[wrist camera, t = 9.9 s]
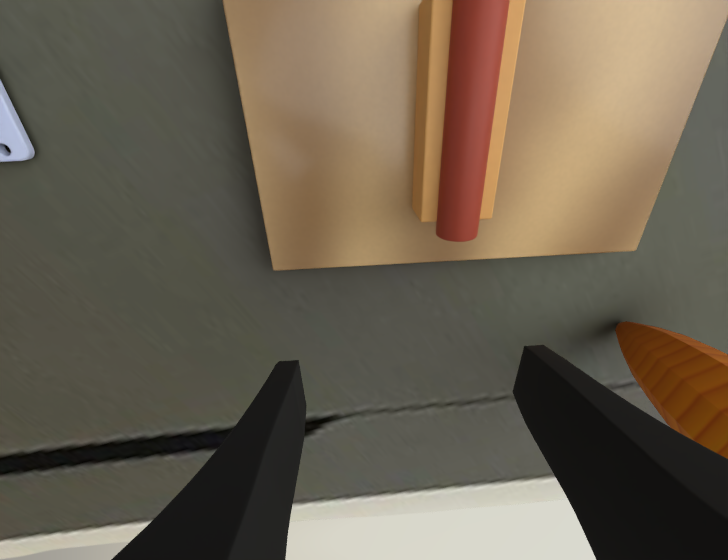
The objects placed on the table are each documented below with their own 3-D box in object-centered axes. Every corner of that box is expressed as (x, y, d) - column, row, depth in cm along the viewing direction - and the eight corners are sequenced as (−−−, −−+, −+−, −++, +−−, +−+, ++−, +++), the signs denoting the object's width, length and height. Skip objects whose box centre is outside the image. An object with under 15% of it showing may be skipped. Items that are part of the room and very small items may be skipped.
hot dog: (411, 220, 17) (424, 244, 14) (419, -18, 12) (441, -53, 9) (473, 217, 17) (499, 240, 14) (504, -21, 12) (551, -56, 10)
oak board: (276, 261, 19) (272, 271, 18) (227, -14, 13) (217, -24, 12) (620, 243, 19) (636, 251, 18) (719, -29, 14) (751, -41, 12)
